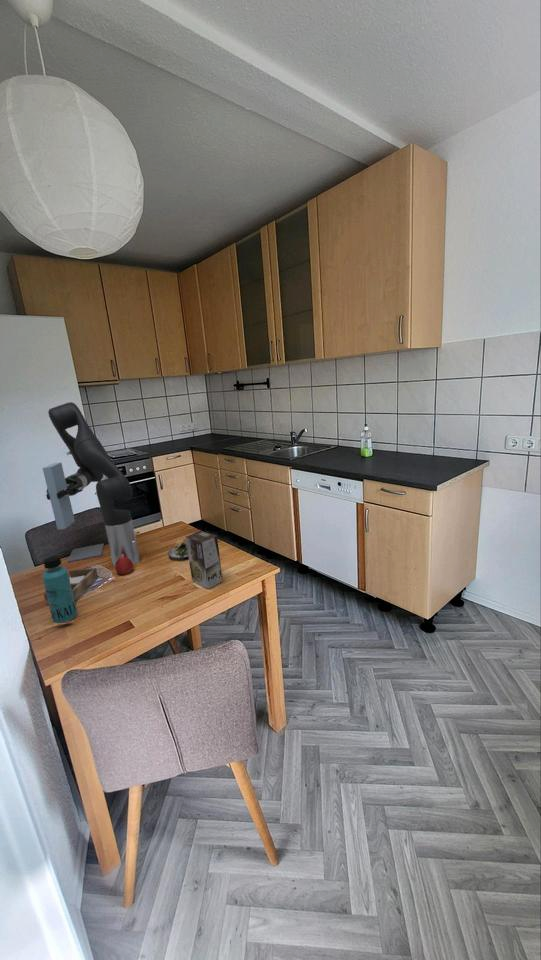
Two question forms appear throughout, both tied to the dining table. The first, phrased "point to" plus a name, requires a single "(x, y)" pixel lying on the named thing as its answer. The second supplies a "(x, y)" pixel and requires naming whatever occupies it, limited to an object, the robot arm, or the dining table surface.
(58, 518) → the board
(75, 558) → the mat
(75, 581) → the offcut
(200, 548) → the coffee box
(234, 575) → the dining table surface
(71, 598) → the beverage bottle
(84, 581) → the rack
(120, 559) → the pomegranate
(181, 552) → the burger
